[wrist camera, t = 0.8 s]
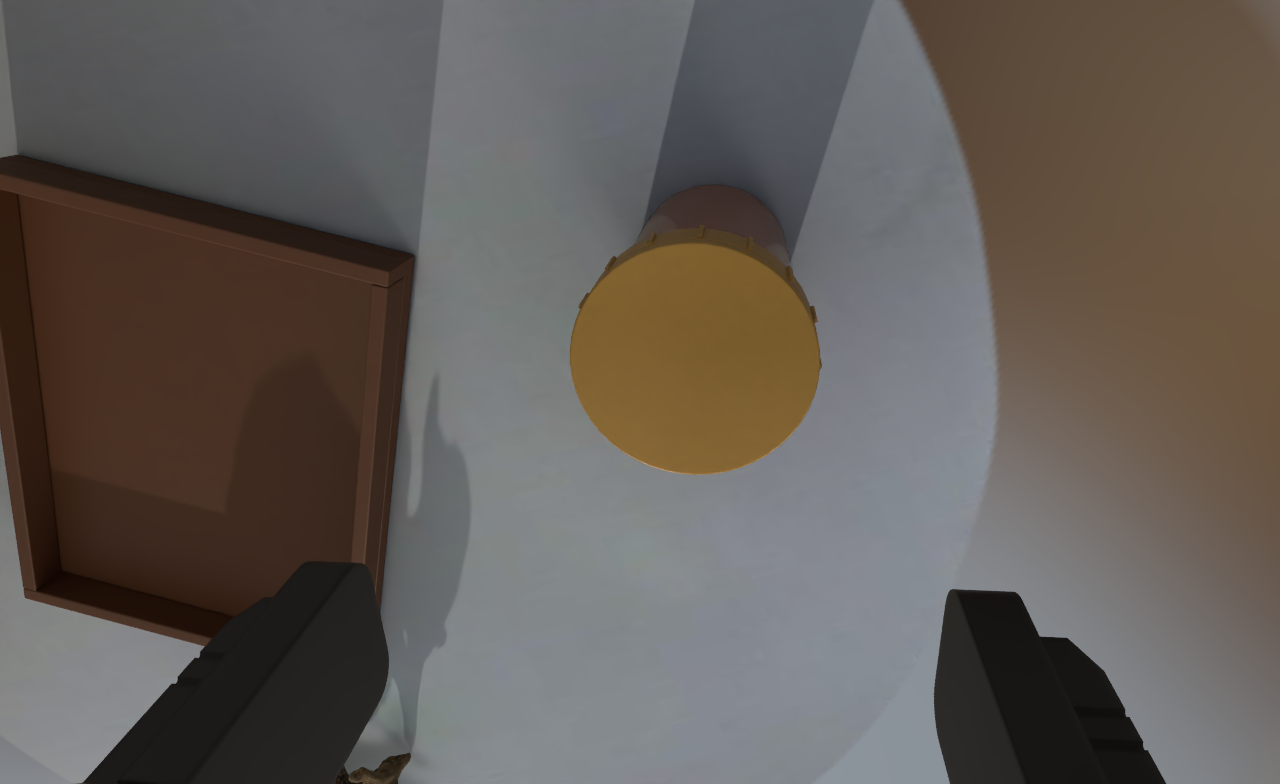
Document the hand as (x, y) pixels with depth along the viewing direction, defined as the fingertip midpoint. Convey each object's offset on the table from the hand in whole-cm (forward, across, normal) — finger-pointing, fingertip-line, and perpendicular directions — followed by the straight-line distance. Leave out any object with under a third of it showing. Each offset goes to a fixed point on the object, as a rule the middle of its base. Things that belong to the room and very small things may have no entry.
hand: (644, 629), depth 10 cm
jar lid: (+10, 0, 0) cm, 10 cm away
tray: (+19, +20, +7) cm, 29 cm away
